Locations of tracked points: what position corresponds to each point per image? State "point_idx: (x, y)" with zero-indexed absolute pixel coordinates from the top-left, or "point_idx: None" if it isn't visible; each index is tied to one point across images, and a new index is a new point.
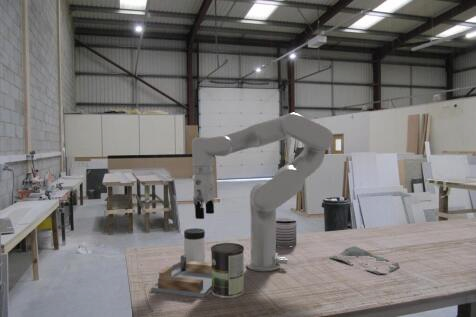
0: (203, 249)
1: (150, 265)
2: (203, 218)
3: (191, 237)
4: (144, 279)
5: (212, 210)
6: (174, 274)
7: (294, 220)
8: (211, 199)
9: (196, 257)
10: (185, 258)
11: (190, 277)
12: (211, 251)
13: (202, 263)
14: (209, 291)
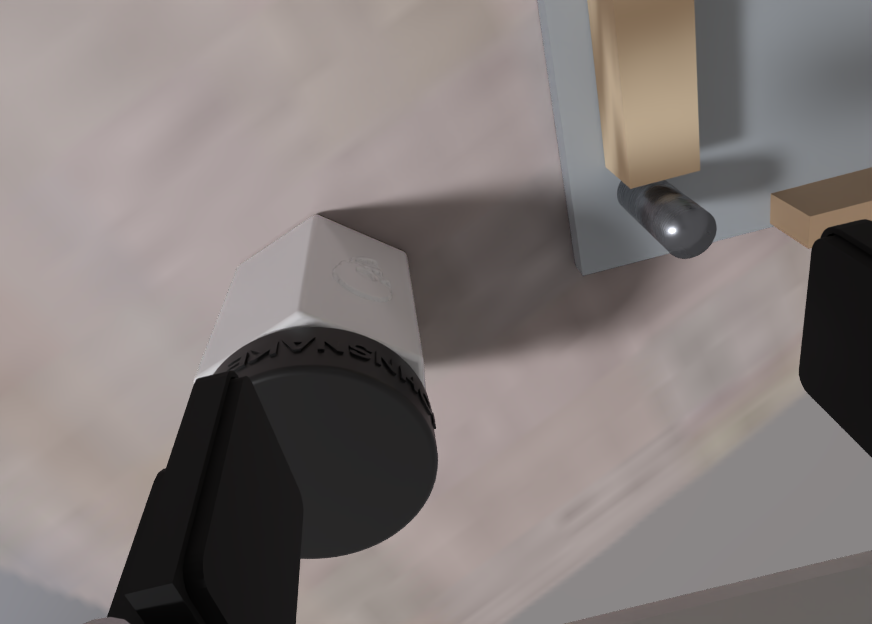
0: (315, 260)
1: (567, 464)
2: (859, 221)
3: (425, 400)
4: (799, 330)
5: (242, 426)
6: (740, 192)
7: None
8: (731, 599)
9: (388, 262)
10: (689, 203)
11: (770, 34)
12: None
13: (654, 25)
14: None
